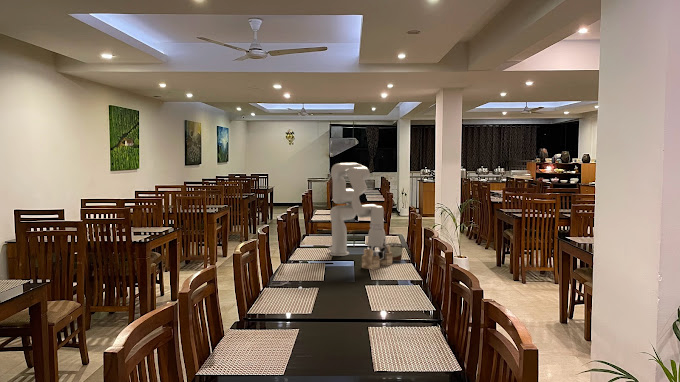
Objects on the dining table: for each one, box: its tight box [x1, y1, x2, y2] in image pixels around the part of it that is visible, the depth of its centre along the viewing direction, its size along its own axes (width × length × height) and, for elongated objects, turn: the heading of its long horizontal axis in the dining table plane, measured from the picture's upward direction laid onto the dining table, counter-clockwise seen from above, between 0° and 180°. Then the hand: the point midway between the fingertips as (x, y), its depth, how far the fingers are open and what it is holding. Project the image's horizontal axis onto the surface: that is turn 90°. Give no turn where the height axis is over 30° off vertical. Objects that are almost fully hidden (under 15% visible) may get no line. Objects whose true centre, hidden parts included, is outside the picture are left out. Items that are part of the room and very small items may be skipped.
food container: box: [386, 242, 404, 262], centre depth 310 cm, size 12×6×10 cm, turn 84°
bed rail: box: [373, 248, 387, 260], centre depth 295 cm, size 4×14×5 cm, turn 141°
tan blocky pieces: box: [361, 245, 393, 271], centre depth 295 cm, size 8×19×11 cm, turn 141°
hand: (377, 257), depth 295 cm, fingers open, 4 cm apart
